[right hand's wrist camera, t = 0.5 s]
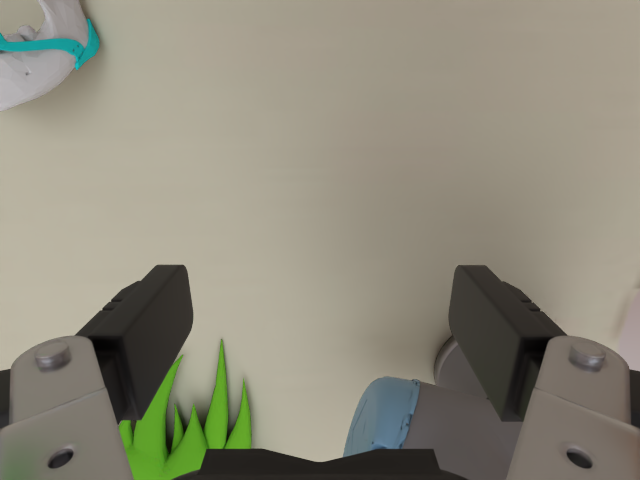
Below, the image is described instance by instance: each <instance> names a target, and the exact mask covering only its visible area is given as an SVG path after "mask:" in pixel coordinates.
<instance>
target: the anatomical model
mask: <svg viewBox="0 0 640 480" xmlns="http://www.w3.org/2000/svg"><path fill="white" fill-rule="evenodd" d="M37 1H38V2H39V4H40V5H41V7H42V9H43V11H44V15H45V20H44V22H43V24H42V26H41V28H40V29H39V31H38V32H37V33H36V31H35V30H34V29H33V28H32V27H31V26H29V25H23V26H21V27H20V28H19V29H18V30H17V32H16V33H13V34H8V35H5V36H4V37H3V36H2V34H1V33H0V111H4V110H8V109H10V108H12V107H15V106H17V105H19V104H22V103H25V102H28V101H31V100H34V99H36V98H38V97H40V96H42V95H44V94H46V93H48V92H49V91H51V90H52V89H53V88H55V87H56V86H58V85H59V84H60V83H61V82H62V81H63V80H64V79H65V78H66V77H67V76H68V74H69V73H70V72H71V71H72V70H73V69H74V68H76V70H78V69H79V68H80V67H81V66H82V65H83V64H84V63H85V62H86V61H87V60H88V59H90V58H91V57H93V56H94V55H95V54H96V52H97V50H98V48H99V38H98V36H97V34H96V32H95V30H94V28H93V26H92V23H91V21H90V19H86V18H85V15H84V13H83V11H82V8H81V5H80V2H79V0H37Z"/></svg>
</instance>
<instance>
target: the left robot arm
mask: <svg viewBox="0 0 640 480" xmlns="http://www.w3.org/2000/svg"><path fill="white" fill-rule="evenodd" d="M434 378H435V383H436V385H432V384H428V383H424V382H421V381H419V380H417V379H413V380H412V381H411V380H406V379H400V378H394V377H388V376H387V377H383V378H379V379H377V380H375V381H373V382H372V383H371V384H370V385H369V386H368V387H367V389H366V390H365V392H364V393H363V395H362V397H361V399H360V401H359V403H358V406H357V408H356V411H355V414H354V416H353V419H352V423H351V426H350V429H349V433H348V437H347V441H346V445H345V449H344V454H343V457H346V456H350V455H354V454H358V453H363V452H367V451H371V450H375V449H434V452H435V455H436V458H437V461H438V464H439V468H440V469H442V470H445V471H449V472H451V473H454V474H457V475H460V476H462V477H465V478H467V479H469V480H506V478H507V474H508V471H509V468H510V464H511V461H512V458H513V454H514V451H515V448H516V444H517V441H518V438H519V435H520V431H521V428H522V425H523V422H501V420H500V418H499V416H498V414H497V413H496V411H495V409H494V407H493V405H492V404H491V402H490V400H489V398H488V397H487V395H486V393H485V391H484V389H483V388H482V386H481V384H480V382H479V380H478V379H477V377H476V375H475V373H474V372H473V370H472V368H471V366H470V364H469V363H468V361H467V359H466V357H465V355H464V354H463V352H462V350H461V348H460V347H459V345H458V343H457V341H456V339H455V338H454V336H452V337H451V338H450V339H449V340H448V341H447V342H446V343H445V345H444V346H443V347H442V349H441V350H440V352H439V354H438V356H437V359H436V362H435V367H434Z"/></svg>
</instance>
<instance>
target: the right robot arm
mask: <svg viewBox="0 0 640 480" xmlns="http://www.w3.org/2000/svg"><path fill="white" fill-rule="evenodd" d="M102 309H103V310H102V311H99V312H98V313H97V314H96V315H95V316H94V317H93V318H92V319H91V320H90V321H89V322H88V323H87V324H86V325H85V326H84V327H83V328H82V329H81V330H80V331H79V332H78V333H77V334H76V335H75V336H64V337H59V338H55V339H51V340H48V341H45V342H43V343H41V344H38V345H36V346H34V347H32V348H30V349H29V350H27V351H26V352H24V353H23V354H21V355H20V356H19V357H18V358H17V359H16V360H15V361H14V363H13V364H12V366H11V369H8V370H3V371H0V480H134V478H133V474H132V471H131V468H130V464H129V461H128V458H127V454H126V451H125V448H124V444H123V441H122V438H121V435H120V431H119V428H118V424H119V423H120V421H121V420H142V418H143V417H144V415H145V413H146V411H147V409H148V407H149V406H150V404H151V402H152V400H153V398H154V397H155V395H156V393H157V391H158V389H159V388H160V386H161V384H162V382H163V380H164V379H165V377H166V375H167V373H168V371H169V369H170V368H171V366H172V364H173V362H174V360H175V359H176V357H177V355H178V353H179V351H180V350H181V348H182V346H183V344H184V342H185V341H186V339H187V337H188V335H189V333H190V331H191V328H192V324H193V307H192V300H191V293H190V286H189V279H188V273H187V269H186V267H185V266H184V265H156V266H155V267H154V268H153V269H152V270H151V271H150V272H149V273H148V274H147V275H146V276H145V277H144V278H143V279H142V280H141V281H137V282H135V283H133V284H131V285H130V286H128V287H126V288H124V289H122V290H121V291H120V292H119V293H118V294H117V295H116V296H115V297H114V298H113V299H112V300H111V302H109V303H108V304H107V305H105V306H104V307H103V308H102ZM449 325H450V329H451V332H452V334H453V336H454V338H455V339H456V341H457V343H458V345H459V347H460V348H461V350H462V352H463V354H464V355H465V357H466V359H467V361H468V363H469V364H470V366H471V368H472V370H473V372H474V373H475V375H476V377H477V379H478V380H479V382H480V384H481V386H482V388H483V389H484V391H485V393H486V395H487V397H488V398H489V400H490V402H491V404H492V405H493V407H494V409H495V411H496V413H497V414H498V416H499V418H500V420H501V422H523V425H522V428H521V431H520V435H519V438H518V441H517V444H516V448H515V451H514V454H513V458H512V461H511V464H510V468H509V471H508V474H507V478H506V480H640V371H635V370H630V369H629V366H628V364H627V363H626V361H625V360H624V359H623V358H622V357H621V356H620V355H619V354H617V353H616V352H614V351H613V350H611V349H610V348H608V347H606V346H604V345H602V344H599V343H597V342H595V341H592V340H589V339H585V338H581V337H576V336H568V335H567V334H566V333H565V332H563V331H562V330H561V329H560V328H559V327H558V326H557V325H556V324H555V323H554V322H553V321H552V320H551V319H550V318H549V317H548V316H547V315H546V314H545V313H544V312H543V311H540V308H539V307H537V306H536V305H535V304H534V303H531V300H530V299H529V298H528V297H527V296H526V295H525V294H524V293H523V292H522V291H521V290H519V289H517V288H515V287H514V286H512V285H510V284H508V283H506V282H502V281H501V280H500V279H499V278H498V277H497V276H496V275H495V274H494V273H493V272H492V271H491V270H490V269H489V268H488V267H487V266H485V265H459V266H457V268H456V270H455V273H454V280H453V287H452V294H451V301H450V307H449ZM171 480H469V479H467V478H465V477H462V476H460V475H457V474H454V473H451V472H449V471H445V470H442V469H440V468H439V464H438V461H437V458H436V455H435V452H434V449H375V450H371V451H367V452H363V453H358V454H354V455H350V456H346V457H342V458H338V459H334V460H330V461H326V462H314V461H310V460H306V459H302V458H298V457H294V456H290V455H286V454H282V453H277V452H273V451H269V450H265V449H206V452H205V455H204V458H203V461H202V464H201V468H200V469H199V470H195V471H191V472H189V473H186V474H183V475H180V476H178V477H175V478H173V479H171Z"/></svg>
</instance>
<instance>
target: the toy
mask: <svg viewBox="0 0 640 480" xmlns="http://www.w3.org/2000/svg"><path fill="white" fill-rule="evenodd" d="M182 357H183V355H182V356H181V357H180V358H179V359H178V360H177V361H176V362H175V363H174V364H173V365H172V366H171V368H170V369H169V371H168V373H167V375H166V377H165V379H164V380H163V382H162V384H161V386H160V388H159V389H158V391H157V393H156V395H155V397H154V398H153V400H152V402H151V404H150V406H149V407H148V409H147V411H146V413H145V415H144V417H143V418H142V420H137V422H136V426H135V430H134V434H133V431H132V427H131V420H122V422H121V424H120V425H119V431H120V435H121V438H122V441H123V444H124V448H125V451H126V454H127V458H128V461H129V464H130V468H131V471H132V474H133V478H134V480H171V479H173V478H175V477H178V476H180V475H183V474H186V473H189V472H191V471H195V470H199V469H200V468H201V464H202V461H203V458H204V455H205V452H206V449H251V435H252V434H251V418H250V410H249V405H248V399H247V394H246V388H245V383H244V377H243V390H242V401H241V407H240V412H239V415H238V418H237V421H236V424H235V426H234V428H233V430H232V432H231V434H230V437H229V439H228V441H227V443H226V438H227V426H228V401H227V384H226V369H225V362H224V352H223V343H222V339H221V345H220V354H219V362H218V369H217V377H216V386H215V389H214V393H213V397H212V401H211V405H210V408H209V412H208V415H207V419H206V423H205V426H204V430H202V428H201V425H200V422H199V420H198V416H197V412H196V409H195V406H194V403H193V408H192V413H191V418H190V421H189V424H188V427H187V430H186V432H185V434H184V431H183V427H182V423H181V419H180V417H179V414H178V411H177V408H176V405H175V403H174V405H175V422H174V437H173V442H172V448H171V452H170V453H168V450H167V446H166V422H165V421H166V409H167V405H168V400H169V394H170V391H171V388H172V385H173V381H174V378H175V374H176V371H177V368H178V366H179V363H180V361H181V359H182Z"/></svg>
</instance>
